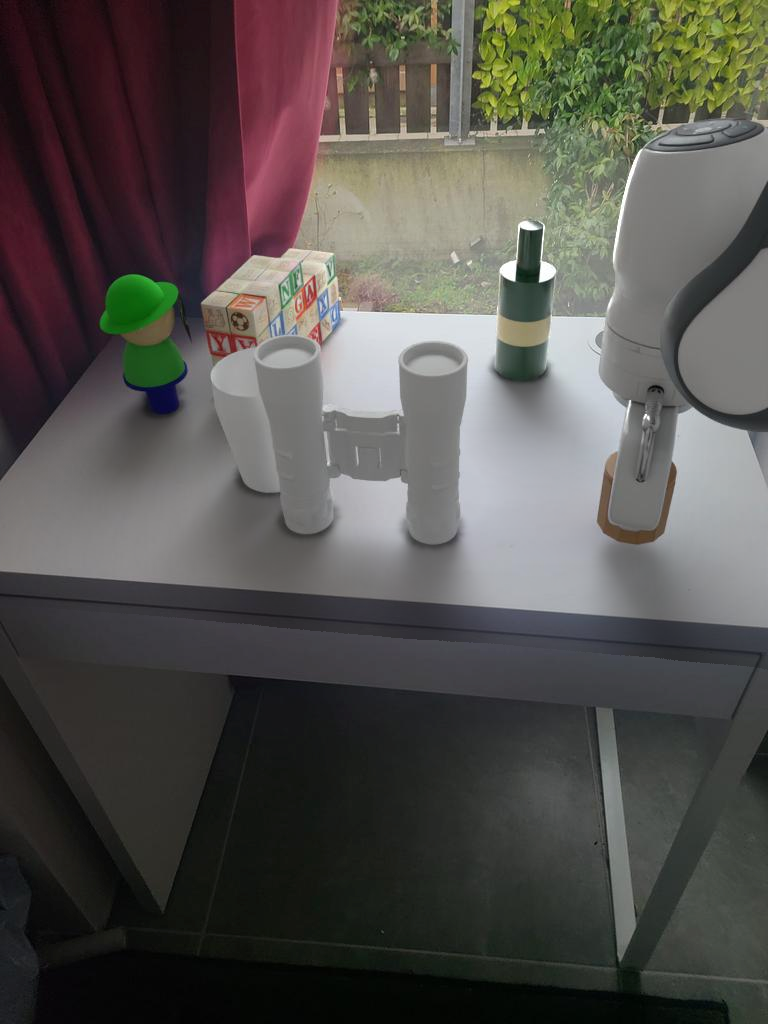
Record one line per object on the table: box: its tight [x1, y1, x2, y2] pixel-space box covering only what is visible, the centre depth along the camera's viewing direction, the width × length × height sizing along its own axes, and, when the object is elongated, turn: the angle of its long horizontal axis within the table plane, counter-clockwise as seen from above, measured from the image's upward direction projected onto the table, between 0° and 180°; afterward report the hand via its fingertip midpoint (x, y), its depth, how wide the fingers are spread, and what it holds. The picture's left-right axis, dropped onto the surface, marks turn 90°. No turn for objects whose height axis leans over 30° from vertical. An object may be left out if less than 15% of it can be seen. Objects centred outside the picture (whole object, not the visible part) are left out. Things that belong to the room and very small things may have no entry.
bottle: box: [493, 220, 557, 381], centre depth 90 cm, size 6×6×17 cm
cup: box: [210, 347, 280, 494], centre depth 78 cm, size 9×9×12 cm
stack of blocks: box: [200, 247, 342, 367], centre depth 95 cm, size 21×6×12 cm, turn 160°
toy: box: [99, 274, 193, 416], centre depth 88 cm, size 9×9×15 cm
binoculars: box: [253, 335, 469, 545], centre depth 70 cm, size 17×5×18 cm, turn 81°
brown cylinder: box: [596, 450, 678, 546], centre depth 69 cm, size 6×6×6 cm
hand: (635, 498), depth 69 cm, fingers closed on brown cylinder, 6 cm apart
